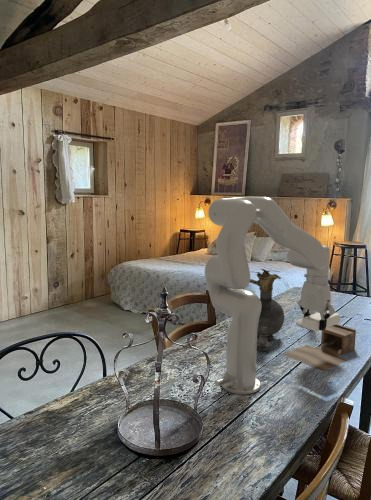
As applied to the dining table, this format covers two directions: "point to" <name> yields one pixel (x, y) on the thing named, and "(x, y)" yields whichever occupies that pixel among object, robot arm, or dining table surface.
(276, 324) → the pitcher
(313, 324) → the soap bar
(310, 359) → the open wooden box
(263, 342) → the salt shaker
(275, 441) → the dining table surface
